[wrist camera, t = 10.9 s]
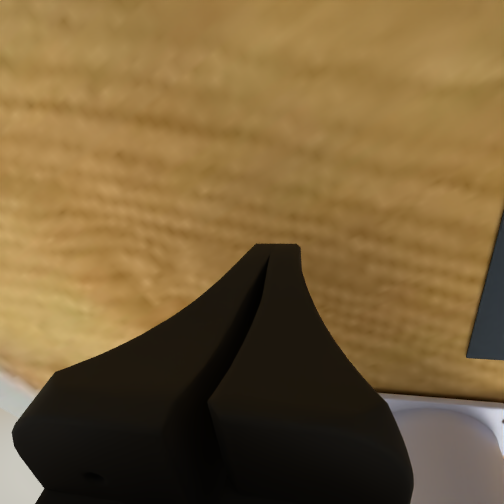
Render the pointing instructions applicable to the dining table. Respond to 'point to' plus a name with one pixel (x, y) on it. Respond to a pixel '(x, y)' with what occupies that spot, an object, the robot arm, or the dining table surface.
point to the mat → (491, 309)
